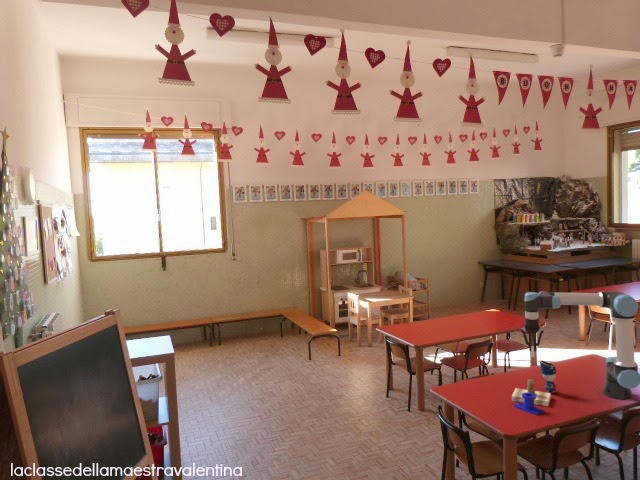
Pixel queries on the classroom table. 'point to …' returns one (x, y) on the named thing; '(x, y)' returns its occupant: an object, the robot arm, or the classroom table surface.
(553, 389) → the blue tall vessel
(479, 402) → the classroom table surface
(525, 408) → the mount
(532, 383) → the peg
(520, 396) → the board
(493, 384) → the classroom table surface
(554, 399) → the classroom table surface
